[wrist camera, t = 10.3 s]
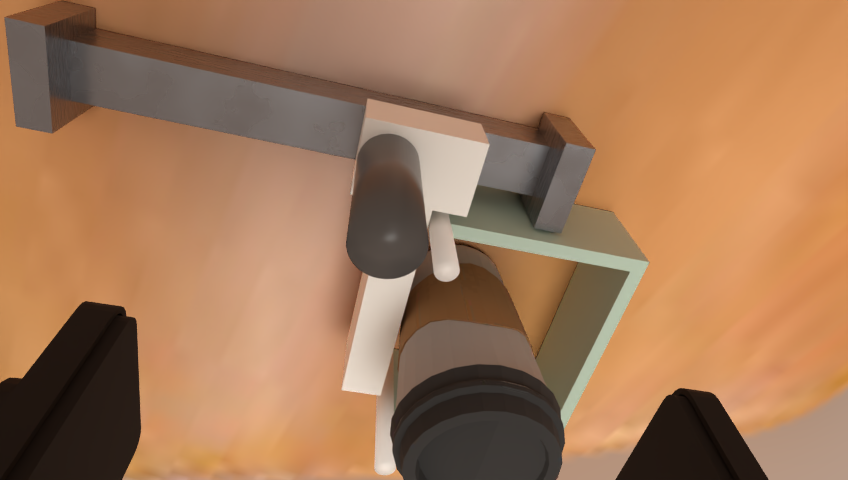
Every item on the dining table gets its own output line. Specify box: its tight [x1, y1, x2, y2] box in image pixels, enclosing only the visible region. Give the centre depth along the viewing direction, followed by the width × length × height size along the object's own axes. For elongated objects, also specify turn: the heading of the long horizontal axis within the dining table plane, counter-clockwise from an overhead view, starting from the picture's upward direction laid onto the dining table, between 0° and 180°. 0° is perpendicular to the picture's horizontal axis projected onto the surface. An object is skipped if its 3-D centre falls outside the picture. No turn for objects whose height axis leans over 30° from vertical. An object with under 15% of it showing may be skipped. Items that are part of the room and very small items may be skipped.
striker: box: [342, 99, 490, 396], centre depth 30 cm, size 17×6×12 cm, turn 167°
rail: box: [5, 1, 596, 233], centre depth 30 cm, size 5×28×5 cm, turn 77°
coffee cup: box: [390, 245, 565, 480], centre depth 33 cm, size 8×8×15 cm
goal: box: [375, 185, 649, 475], centre depth 35 cm, size 15×12×10 cm
